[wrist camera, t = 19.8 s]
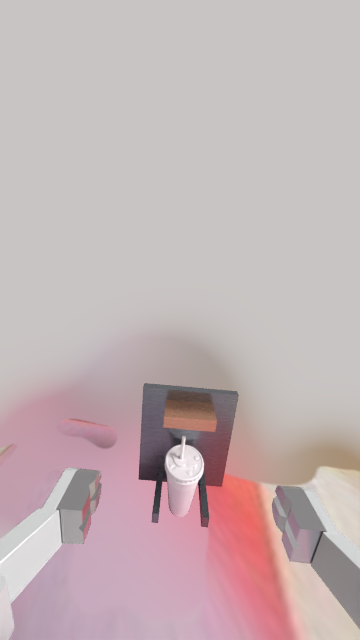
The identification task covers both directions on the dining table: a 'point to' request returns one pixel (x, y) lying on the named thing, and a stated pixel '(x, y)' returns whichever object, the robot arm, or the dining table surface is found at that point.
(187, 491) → the smoothie
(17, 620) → the dining table surface
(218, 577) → the dining table surface
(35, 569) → the robot arm
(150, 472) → the gray menu stand
